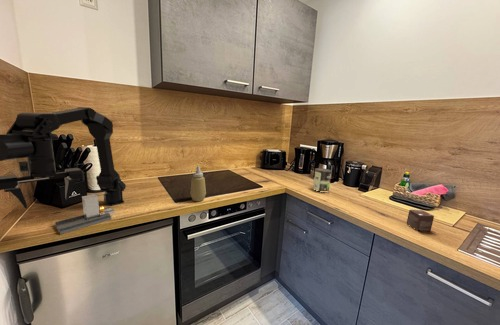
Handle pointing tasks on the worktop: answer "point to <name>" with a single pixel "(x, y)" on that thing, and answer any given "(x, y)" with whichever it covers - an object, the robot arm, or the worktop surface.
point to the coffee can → (322, 179)
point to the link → (93, 207)
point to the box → (420, 220)
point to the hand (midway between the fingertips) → (47, 203)
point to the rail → (80, 222)
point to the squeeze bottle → (198, 186)
